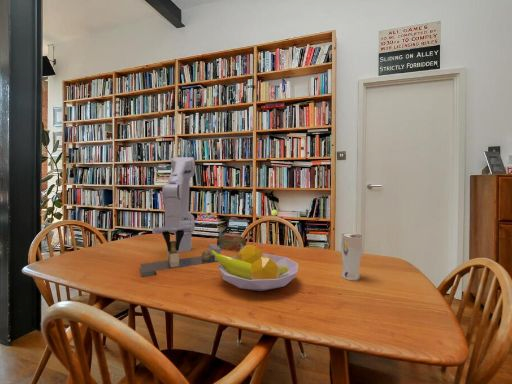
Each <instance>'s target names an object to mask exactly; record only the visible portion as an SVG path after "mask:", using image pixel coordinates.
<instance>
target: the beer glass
mask: <svg viewBox="0 0 512 384" xmlns="http://www.w3.org/2000/svg"><path fill="white" fill-rule="evenodd" d="M340 250H341V251H340V253H341V260H342V272H341V277H342V278H343V279H344V280H348V281H359V280H360V279H361V276H360V263H361V259H362V253H363V237H362V235H361V234H358V233H351V232H347V233H342V234H341V242H340Z"/></svg>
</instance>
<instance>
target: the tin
mask: <svg viewBox="0 0 512 384" xmlns="http://www.w3.org/2000/svg"><path fill="white" fill-rule="evenodd" d="M216 245H217V246H218V247H220V248H221V250H226V251H230V252H231V251H233V252H238V253H239V251H240V249H242V248H243V247H244V246H245V245H248V243H247V240H246V239H245V238H244V237H243V236H241V235H233V234H222V235H220V236H219V237H218V238H217V240H216Z"/></svg>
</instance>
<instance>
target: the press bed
mask: <svg viewBox="0 0 512 384" xmlns="http://www.w3.org/2000/svg"><path fill="white" fill-rule="evenodd" d="M208 250H209V251H210V252H211V251H212V250H214V251H215V252H216V253H217V254H221V255H222V251H221V250H222V249H221V248H220V247H218V246H217V243H209V244H208ZM213 263H219V262H218V261H217V260H216V258H215V256H214V255H213V254H212V253H211V260H208V261H204V260H202V255H200V256H193V257H186V258H179V266H177V267H170V265H169V263H168V260H162V261H155V262H154V261H153V262H148V263H147V262H146V263H140V266H139V267H140V274H141V277H142V278H143V277H149V276H155V275H158V274H157V271H164V270H170V269H176V268H177V269H178V268H185V267H193V266H198V265H206V264H207V265H208V264H213Z"/></svg>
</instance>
